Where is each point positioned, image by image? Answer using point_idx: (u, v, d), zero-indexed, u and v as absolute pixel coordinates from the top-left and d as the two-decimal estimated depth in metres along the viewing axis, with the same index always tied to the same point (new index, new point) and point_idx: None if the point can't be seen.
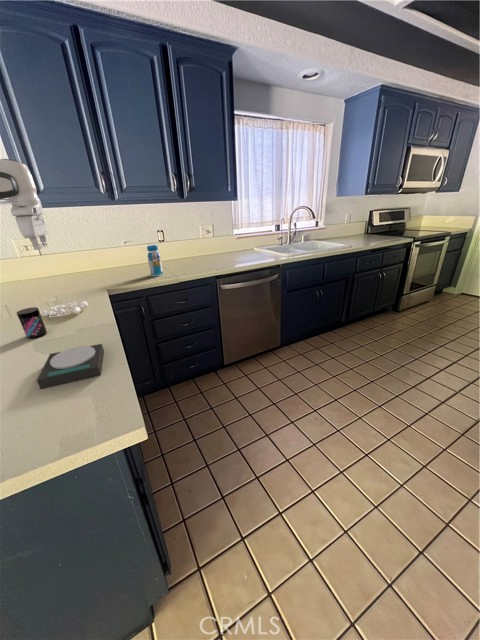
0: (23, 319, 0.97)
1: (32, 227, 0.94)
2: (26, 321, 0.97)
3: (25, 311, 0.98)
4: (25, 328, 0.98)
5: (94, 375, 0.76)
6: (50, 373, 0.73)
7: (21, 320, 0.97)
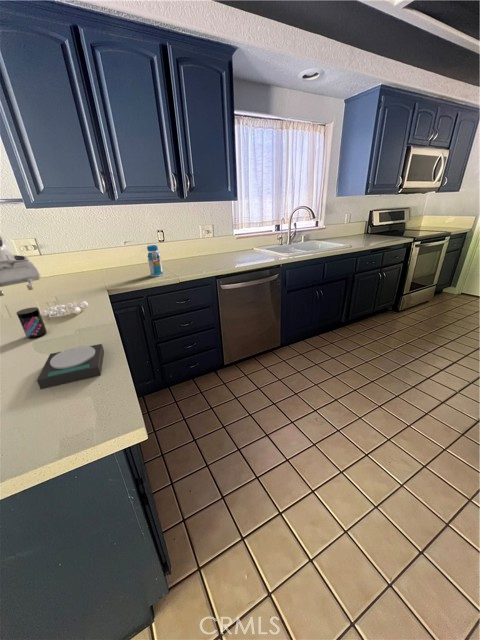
0: (23, 319, 0.97)
1: None
2: (26, 321, 0.97)
3: (24, 311, 0.98)
4: (25, 328, 0.98)
5: (94, 375, 0.76)
6: (50, 373, 0.73)
7: (21, 320, 0.97)
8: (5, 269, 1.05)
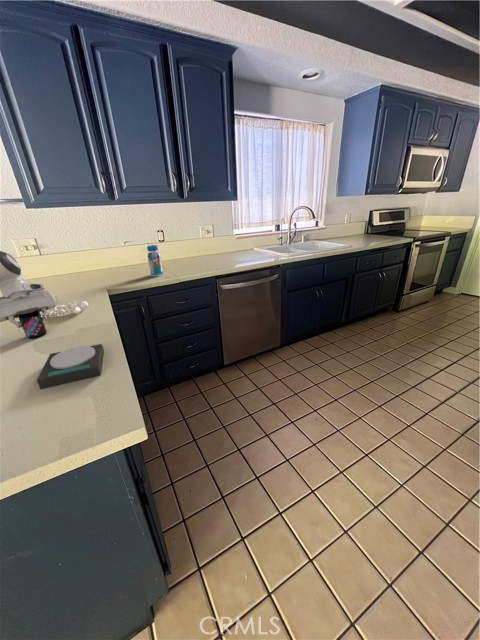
0: (23, 319, 0.97)
1: None
2: (26, 321, 0.97)
3: (24, 311, 0.98)
4: (25, 328, 0.98)
5: (94, 375, 0.76)
6: (50, 373, 0.73)
7: (21, 320, 0.97)
8: (21, 299, 1.01)
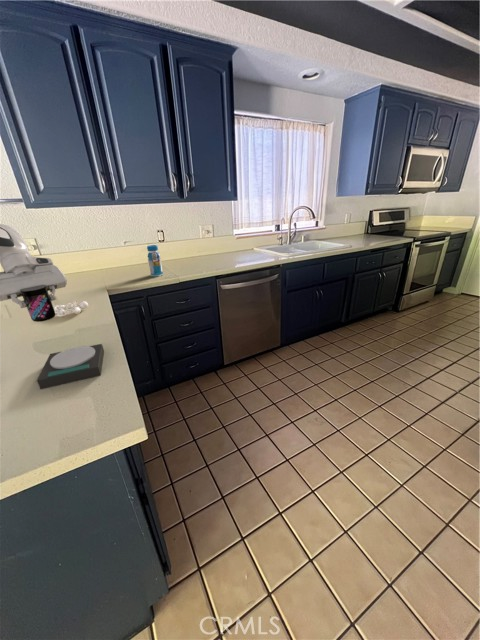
0: (28, 297, 0.81)
1: None
2: (32, 300, 0.81)
3: (30, 288, 0.82)
4: (30, 309, 0.82)
5: (94, 375, 0.76)
6: (50, 373, 0.73)
7: (26, 299, 0.81)
8: (25, 275, 0.85)
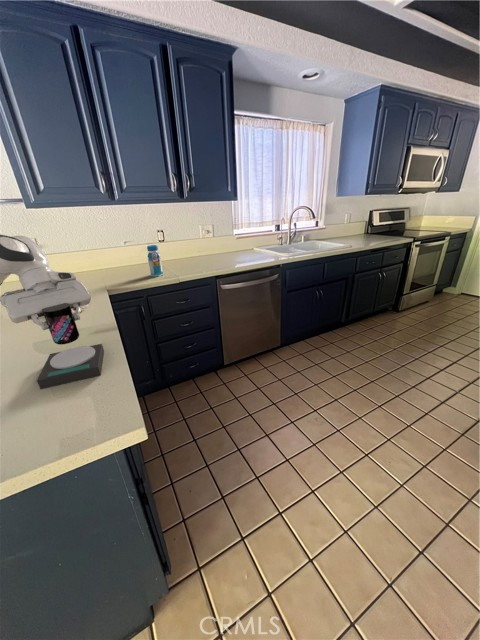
0: (51, 318, 0.72)
1: None
2: (55, 322, 0.72)
3: (52, 308, 0.73)
4: (53, 331, 0.73)
5: (94, 375, 0.76)
6: (50, 373, 0.73)
7: (48, 320, 0.72)
8: (47, 292, 0.76)
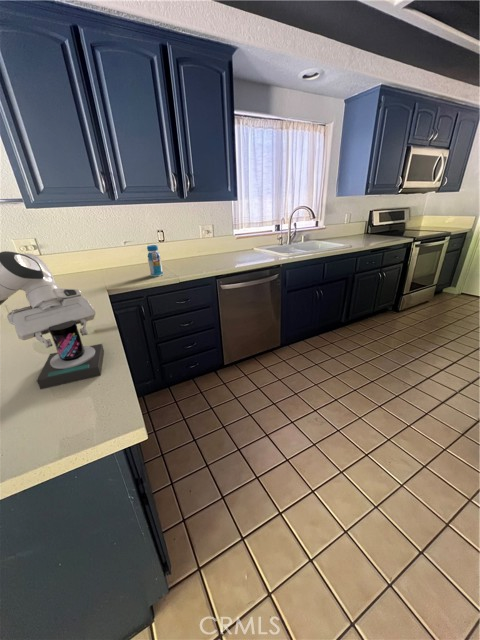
0: (58, 336, 0.74)
1: None
2: (62, 339, 0.75)
3: (59, 326, 0.75)
4: (59, 348, 0.76)
5: (94, 375, 0.76)
6: (50, 373, 0.73)
7: (55, 338, 0.75)
8: (53, 309, 0.78)
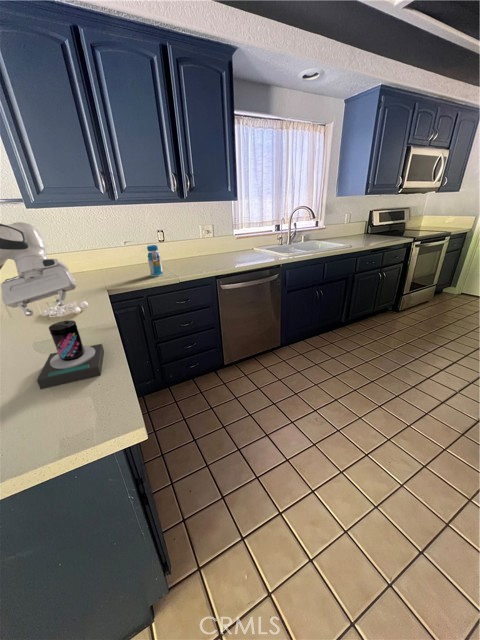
0: (58, 336, 0.74)
1: None
2: (62, 339, 0.75)
3: (59, 326, 0.75)
4: (59, 348, 0.76)
5: (94, 375, 0.76)
6: (50, 373, 0.73)
7: (55, 338, 0.75)
8: (34, 279, 0.82)
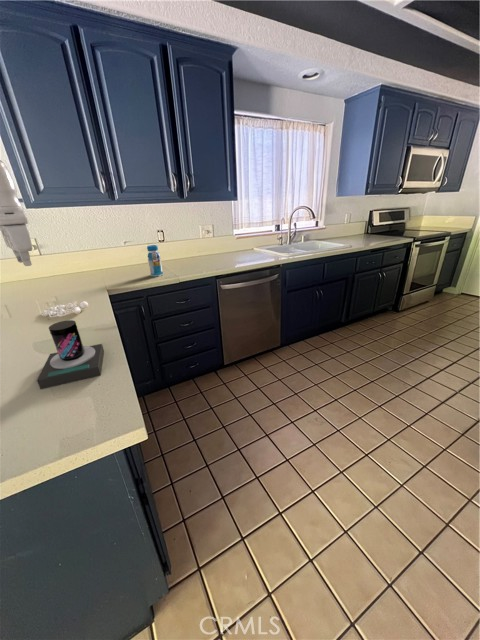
0: (58, 336, 0.74)
1: (29, 238, 0.76)
2: (62, 339, 0.75)
3: (59, 326, 0.75)
4: (59, 348, 0.76)
5: (94, 375, 0.76)
6: (50, 373, 0.73)
7: (55, 338, 0.75)
8: (5, 231, 0.79)
